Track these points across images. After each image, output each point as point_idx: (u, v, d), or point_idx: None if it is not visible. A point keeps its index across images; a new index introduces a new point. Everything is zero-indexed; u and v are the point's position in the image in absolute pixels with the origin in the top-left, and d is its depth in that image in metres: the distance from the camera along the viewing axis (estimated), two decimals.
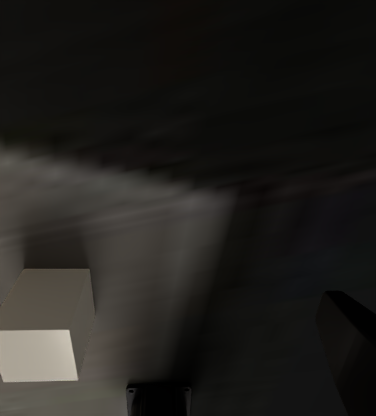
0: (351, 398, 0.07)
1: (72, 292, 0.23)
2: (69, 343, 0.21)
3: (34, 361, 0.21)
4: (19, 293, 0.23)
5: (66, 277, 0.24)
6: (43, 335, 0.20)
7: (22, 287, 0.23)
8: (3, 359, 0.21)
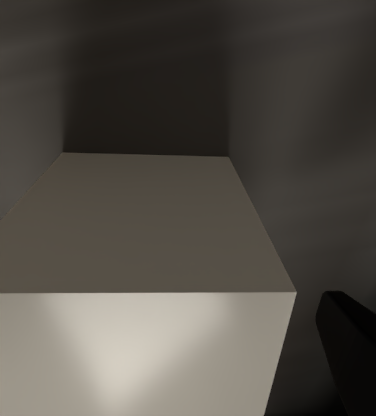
0: (351, 398, 0.07)
1: (221, 192, 0.08)
2: (273, 350, 0.05)
3: (126, 414, 0.06)
4: (61, 191, 0.07)
5: (180, 167, 0.09)
6: (183, 316, 0.05)
7: (67, 181, 0.08)
8: (11, 409, 0.06)
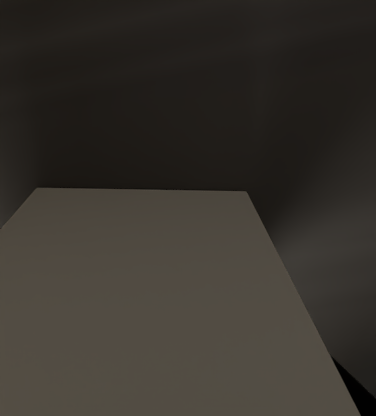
0: None
1: (244, 255, 0.06)
2: None
3: None
4: (22, 259, 0.05)
5: (186, 210, 0.07)
6: None
7: (34, 238, 0.06)
8: None
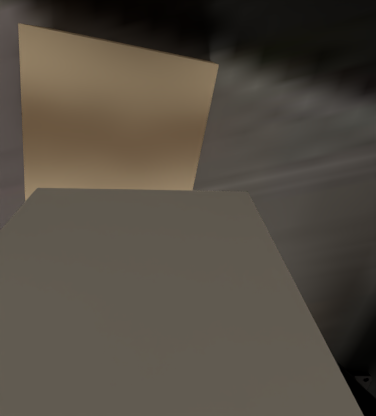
0: None
1: (246, 256, 0.05)
2: None
3: None
4: (23, 259, 0.05)
5: (188, 210, 0.07)
6: None
7: (35, 238, 0.06)
8: None
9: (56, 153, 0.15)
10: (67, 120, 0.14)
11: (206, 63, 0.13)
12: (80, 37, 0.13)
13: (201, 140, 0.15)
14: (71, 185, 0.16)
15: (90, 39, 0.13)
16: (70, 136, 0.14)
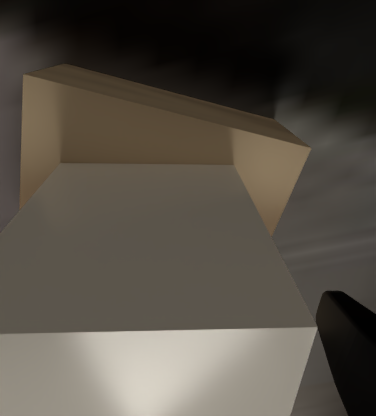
0: (351, 398, 0.07)
1: (227, 207, 0.07)
2: (290, 386, 0.05)
3: None
4: (57, 208, 0.07)
5: (183, 178, 0.08)
6: (191, 354, 0.04)
7: (64, 196, 0.07)
8: None
9: None
10: None
11: (294, 146, 0.09)
12: (117, 100, 0.08)
13: None
14: None
15: (132, 103, 0.09)
16: None
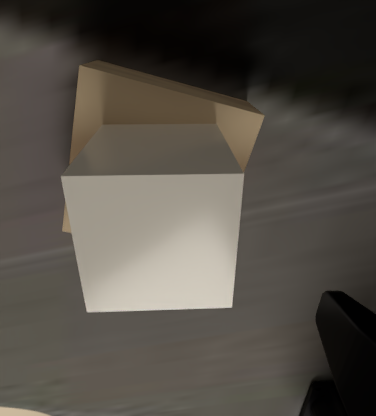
0: (351, 398, 0.07)
1: (208, 140, 0.12)
2: (236, 213, 0.09)
3: (155, 261, 0.10)
4: (108, 142, 0.12)
5: (183, 129, 0.13)
6: (185, 189, 0.09)
7: (110, 137, 0.12)
8: (91, 256, 0.10)
9: None
10: None
11: (253, 113, 0.14)
12: (137, 82, 0.13)
13: None
14: None
15: (146, 84, 0.13)
16: None
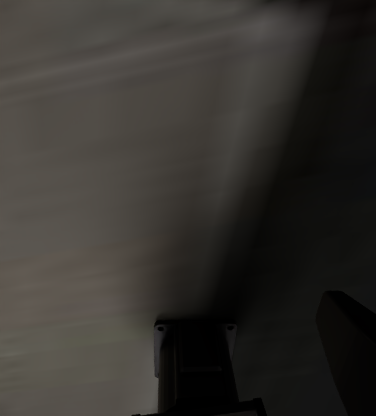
0: (351, 398, 0.07)
1: None
2: None
3: None
4: None
5: None
6: None
7: None
8: None
9: None
10: None
11: None
12: None
13: None
14: None
15: None
16: None
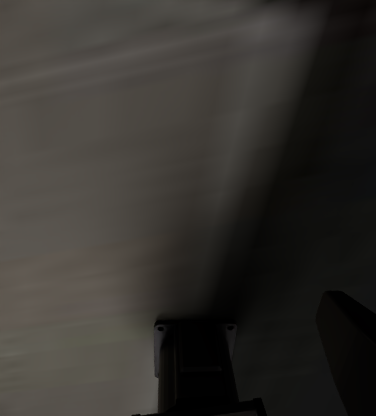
0: (351, 398, 0.07)
1: None
2: None
3: None
4: None
5: None
6: None
7: None
8: None
9: None
10: None
11: None
12: None
13: None
14: None
15: None
16: None
